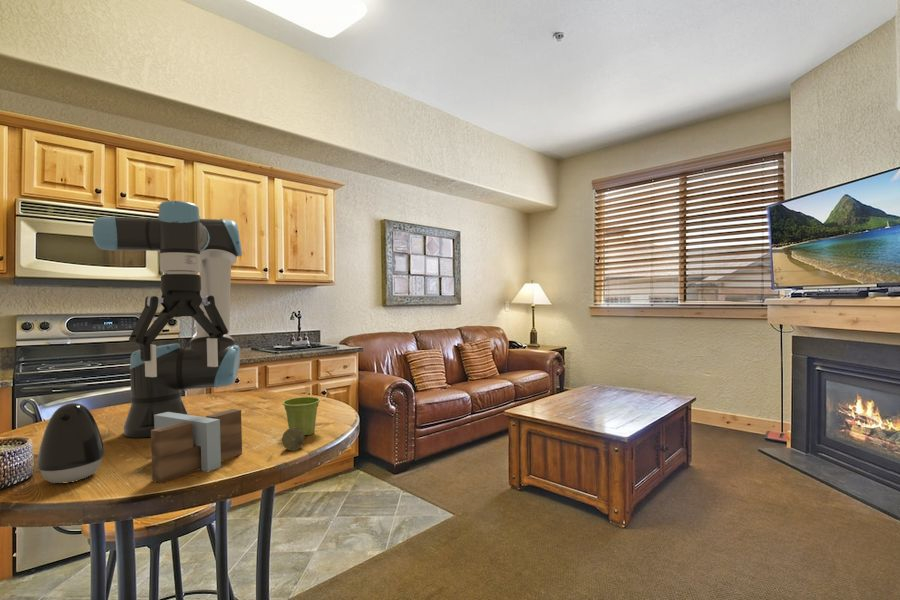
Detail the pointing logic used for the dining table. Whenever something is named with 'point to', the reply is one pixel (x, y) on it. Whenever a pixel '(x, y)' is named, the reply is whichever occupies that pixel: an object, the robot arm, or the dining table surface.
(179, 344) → the robot arm
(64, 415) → the black two-tone rounded device
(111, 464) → the dining table surface
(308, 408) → the plant pot
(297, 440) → the dark grey round lump
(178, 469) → the brown notched board
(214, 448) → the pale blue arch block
